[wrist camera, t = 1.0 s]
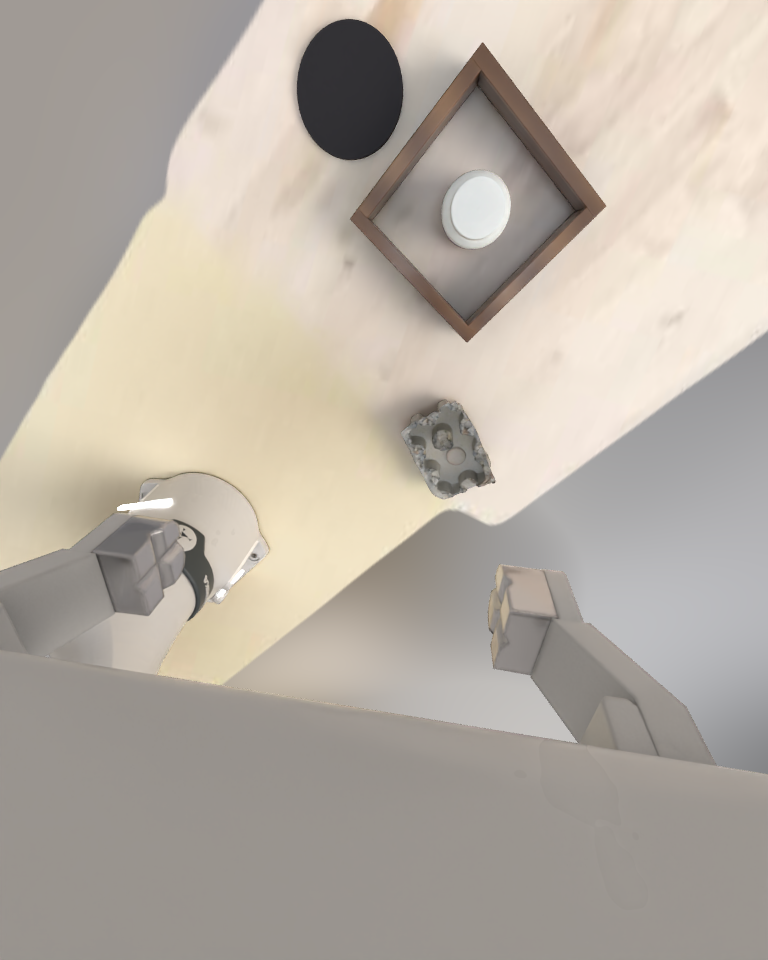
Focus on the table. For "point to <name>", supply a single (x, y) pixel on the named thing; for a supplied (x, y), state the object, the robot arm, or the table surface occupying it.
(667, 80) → the table surface
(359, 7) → the table surface
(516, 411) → the table surface
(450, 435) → the egg carton
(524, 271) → the wooden square frame
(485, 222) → the pill bottle
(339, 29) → the coaster
